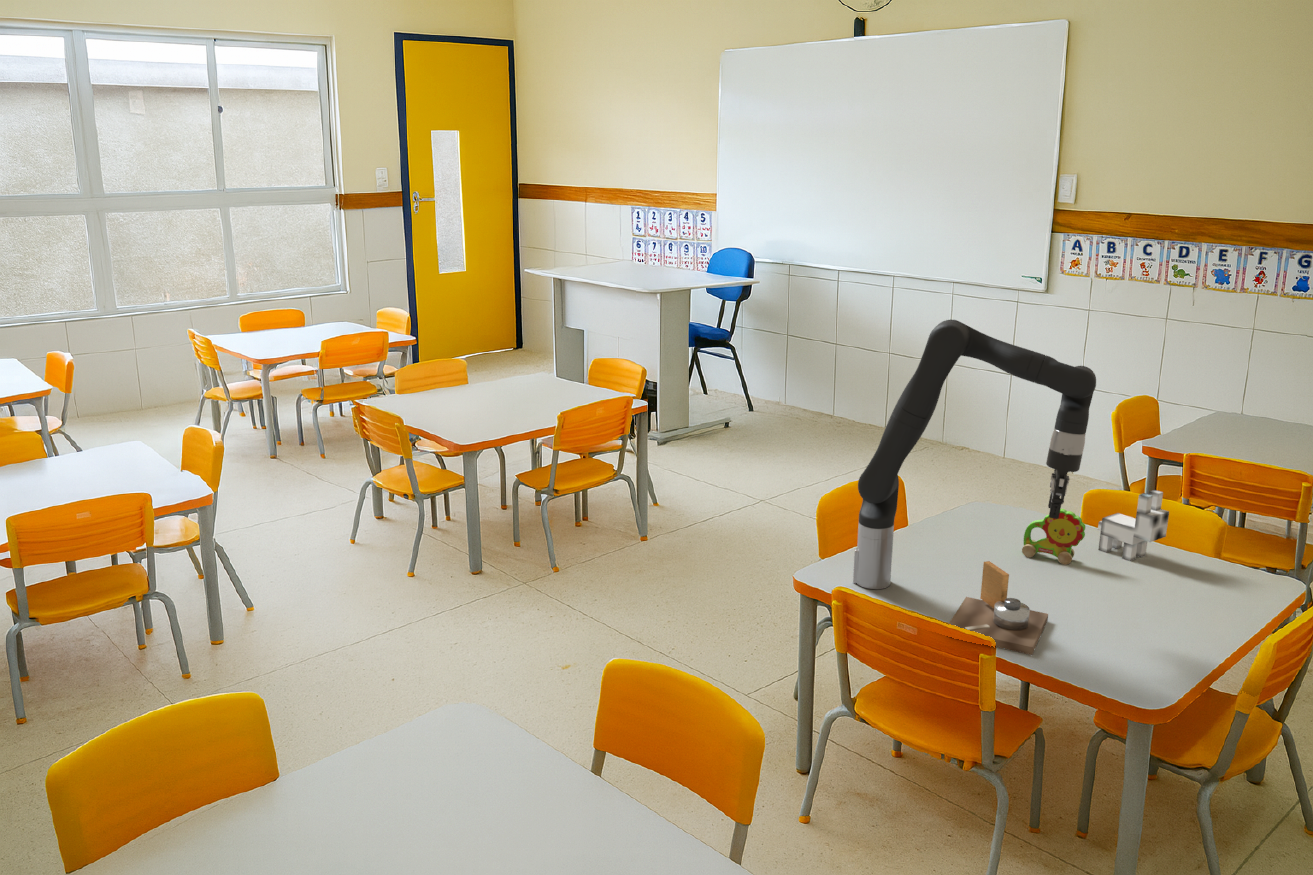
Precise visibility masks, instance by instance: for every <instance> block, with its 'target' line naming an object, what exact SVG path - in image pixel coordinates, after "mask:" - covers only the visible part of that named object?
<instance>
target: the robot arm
mask: <svg viewBox="0 0 1313 875" xmlns="http://www.w3.org/2000/svg"><path fill="white" fill-rule="evenodd" d="M961 356H962V357H967V358H972V359H976V360H980V361H982V362H985V363H987V364H990V365H992V366H994V367H995V368H997V369H1000V370H1001V371H1003V372H1005V373H1007V374H1009V375H1011V376H1013V377H1016V378H1019V379H1022V380H1025V381H1027V382H1031V383H1035V384H1037V385H1039V386H1040V385H1041V386H1044V387H1047V388H1049V389H1051V390H1053V391H1056V392H1058V393H1060V394H1061V398H1060V405H1059V408H1058V410H1057V415H1056V418H1055V424H1054V428H1053V431H1052V435H1051V437H1050V443H1049V447H1048V452H1047V453H1048V454H1047V457H1046V462H1045V464H1046V466H1047V467H1048V468H1050V469H1052V470H1053V472H1051V474H1050V485H1049V487H1050V489H1049V492H1050V495H1049V501H1048V506H1047V507H1048V509H1049V512H1048V515H1049V517H1050V518H1053V519H1058V518H1059V514H1060V509H1062V505H1063V504H1064V503H1065V496H1066V495H1067V491H1068V486H1069V483H1070V476H1069V475H1068V473H1070V472H1071V473H1076V472H1079V471H1080V467H1081V465H1082V464H1081V463H1082V459H1083V453H1084V448H1085V443H1086V433H1087V429H1088V423H1089V418H1090V407H1091V403H1092V401H1093V396H1094V391H1095V390H1096V387H1097V376H1096V374H1095V372H1094V371H1093V370H1092V369H1091V368H1089V367H1088V366H1085V365H1076V366H1073V365H1070V364H1068V363H1063V362H1060V361H1059V360H1057V359H1056V358H1054V357H1051V356H1049V355H1047V354H1043V353H1040V352H1037V351H1034V350H1031V349H1028V348H1024V347H1022V346H1021V347H1020V346H1018V345H1015V344H1012V343H1009V342H1006V341H1002V340H1000V339H997V338H995V337H992V336H990V335H987V334H986V333H983V332H980V331H979V330H977V329H975V328H973V327H971V326H969V325H966V323H963V322H961V321H959V320H957V319H946V320H945V319H944V320H943V321H941V322H939V323H938V324H936V325H935V327H934V328H933V329H932V330H931V332H930V333H929V335H928V339H927V342H926V344H925V347H924V350H923V352H922V356H921V358H920V360H919V363H918V365H917V368H916V370H915V372H914V373H913V375H912V377H911V379H909V381H908V382H907V384H906V386H905V387H904V389H903V391H902V392H901V394H900V397H899V398H898V399H897V402H896V404H895V406H894V408H893V410H892V413H891V414H890V417H889V419H888V421H887V424H886V426H885V429H884V431H883V433H882V436H881V439H880V441H879V444H878V446H877V448H876V451H875V452H874V454H873V456H872V458H871V459H870V461H869V463H868V464H867V465H866V467H865V469H864V471H863V472H862V473H861V474H860V476H859V478H858V482H857V490H858V493H859V495H860V497H861V498H862V503H861V506H860V510H859V513H858V528H857V545H856V546H857V547H856V549H854V556H853V572H852V573H853V575H852V577H853V578H852V583H853V584H856V583H857V584H856V585H858V586H860V587H862V588H864V589H871V590H882V589H885V588H888V587H889V586H891V579H892V578H891V577H892V565H893V564H892V562H893V561H892V560H893V548H894V547H893V546H894V529H895V528H894V527H895V519H896V513H897V509H898V499H899V487H900V480H899V475H898V474H899V471H900V469H901V468H902V466H903V464H904V462H905V460H906V458H907V457H908V455H909V454H910V453H911V451H912V450H913V449H914V447H915V446H916V445H917V443H918V442H919V440H920V439H921V437H922V435H923V434H924V432H925V430H926V429H927V427H928V425H929V422H930V421H931V418H932V416H933V415H934V412H935V411H936V407H937V406H938V405H937V404H938V402H939V398H940V396H941V392H942V388H943V385H944V383H945V381H946V379H947V378H948V376H949V374H950V372H951V371H952V369H953V367H954V366H955V365H956V363H957V361H958V360H959V359H960V357H961Z"/></svg>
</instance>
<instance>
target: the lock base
mask: <svg viewBox="0 0 1313 875" xmlns="http://www.w3.org/2000/svg"><path fill="white" fill-rule="evenodd" d="M953 614H954V615H953V616H952V618H951V619H950V620H949V622H948V624H951V625H956V626H958V627H960V628H964V629H967V630H970V631H975V632H978V633H981V634H984V635H985V636H990V637H992V638H993V639H994V640H995V642H996V646H997V647H996V648H998V647H999V649H1003V648H1005V649H1004V650H1007V649H1008V651H1011V650H1012V651H1013V652H1016V653H1021V654H1025V655H1030V656H1033V654H1034V652H1035V650H1036V647H1037V646H1038V642H1039V641H1040V639H1041V637H1040V636H1042V634H1043V631H1044V630H1045V628H1046V625H1047V623H1048V621H1049V613H1047V612H1046V613H1045V612H1041V611H1036V610H1032V609H1030V612H1029V622H1028V627H1027V628H1025V629H1021V630H1010V629H1005V628H1002V627H1000V626H998V625H996V624H995V623H994V621H993V617H994V608H993V607H991V606H990V605H989V604H987V603H986V602H985V601H983V600H982V599H979V598H975V597H974V598H973V597H969V596H965V598H964V600H963V601H962V603H961V604H960V606H959V607H958V608H957V610H956V612H955V613H953ZM1034 649H1035V650H1034Z"/></svg>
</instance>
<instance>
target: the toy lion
mask: <svg viewBox="0 0 1313 875" xmlns="http://www.w3.org/2000/svg"><path fill="white" fill-rule="evenodd" d="M1035 528H1040V529H1041V530H1043V532H1044V533H1045V535H1046V537H1044V538H1040V539H1038V540H1034V539H1032V536H1031V535H1032V531H1033V530H1034V529H1035ZM1085 530H1086V524H1085V523H1084V522H1083V519H1082V517H1080V516H1079V515H1076V513H1075V512H1074V511H1070V510H1066V508H1061V509H1060V514H1059V518H1058V519H1053V518H1050V517H1049V514H1047V515H1045V516H1044V518H1043V519H1036V520H1033V521H1031V522H1030V523H1029V525H1028V526H1027V527H1026V528H1025V530H1024V534H1023V546H1022V548H1021V553H1022V555H1023V556H1024V557H1027V558H1032V557H1034V556H1035V555H1036V554H1038V553H1039V554H1040V553H1042V554H1044V553H1045V554H1048V555H1051V556H1054V557H1055V558H1057V561H1058V562H1059V563H1060V564H1061V565H1065V566H1066V565H1069V564H1071V562H1072V561H1073V558H1074V556H1075V550H1074V548H1073V547H1077V546H1078V545H1079V544H1080V543H1081V541H1083V540H1084V539H1085V536H1086V533H1085Z"/></svg>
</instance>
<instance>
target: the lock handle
mask: <svg viewBox="0 0 1313 875" xmlns="http://www.w3.org/2000/svg"><path fill="white" fill-rule="evenodd" d="M1009 579H1010V574H1009V573H1008V572H1006V571H1005V570H1003V569H1002V568H1001V567H999V566H997V565H996V564H994V563H993V562H992V561H990V560H987V561H983V565H982V576H981V586H980V600H983V601H985V602H986V603H987V604H989V605H990V606H991V607H993V608H994V617H993V621H994V623H995V624H996V625H998V626H1000V627H1002V628H1005V629H1010V630H1021V629H1025V628H1027V627H1028V622H1029V612H1030V610H1031V609H1030V607H1029V606H1028V605H1027V604H1025V603H1023V602H1021V600H1020V599H1018V598H1013V597H1008V590H1009Z"/></svg>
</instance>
